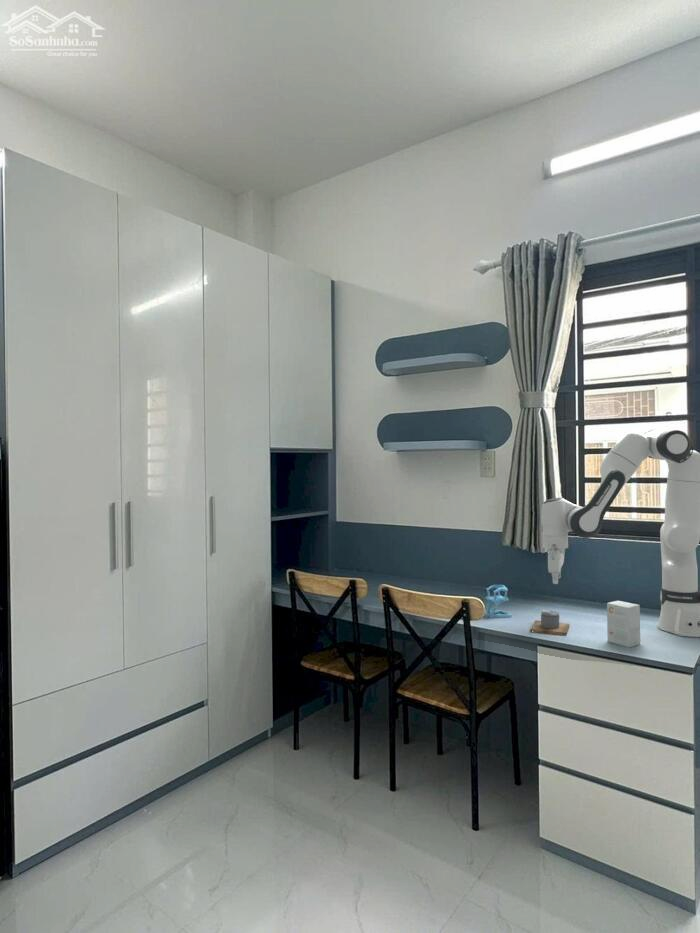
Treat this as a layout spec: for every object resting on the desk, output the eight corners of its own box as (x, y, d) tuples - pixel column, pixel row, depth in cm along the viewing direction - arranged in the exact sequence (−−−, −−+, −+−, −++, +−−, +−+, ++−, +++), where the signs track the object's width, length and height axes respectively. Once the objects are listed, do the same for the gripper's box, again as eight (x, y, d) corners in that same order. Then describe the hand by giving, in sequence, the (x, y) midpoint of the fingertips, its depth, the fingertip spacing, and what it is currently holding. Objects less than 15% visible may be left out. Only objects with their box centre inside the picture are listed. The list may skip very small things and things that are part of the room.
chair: (482, 614, 233) (482, 584, 233) (501, 612, 235) (500, 582, 235) (493, 619, 225) (492, 588, 225) (512, 617, 228) (511, 586, 228)
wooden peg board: (569, 626, 214) (569, 614, 214) (566, 635, 203) (566, 622, 203) (535, 622, 219) (535, 610, 219) (530, 631, 209) (530, 619, 209)
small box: (640, 644, 193) (640, 604, 193) (629, 647, 190) (629, 607, 190) (618, 638, 200) (617, 599, 200) (606, 641, 197) (606, 602, 196)
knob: (559, 624, 213) (560, 610, 213) (558, 629, 208) (558, 614, 207) (542, 622, 215) (542, 608, 215) (540, 627, 210) (540, 612, 210)
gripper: (561, 547, 202) (563, 587, 202) (566, 539, 221) (568, 575, 221) (542, 546, 205) (544, 586, 205) (549, 538, 224) (550, 575, 224)
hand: (556, 580), depth 213 cm, fingers open, 8 cm apart
